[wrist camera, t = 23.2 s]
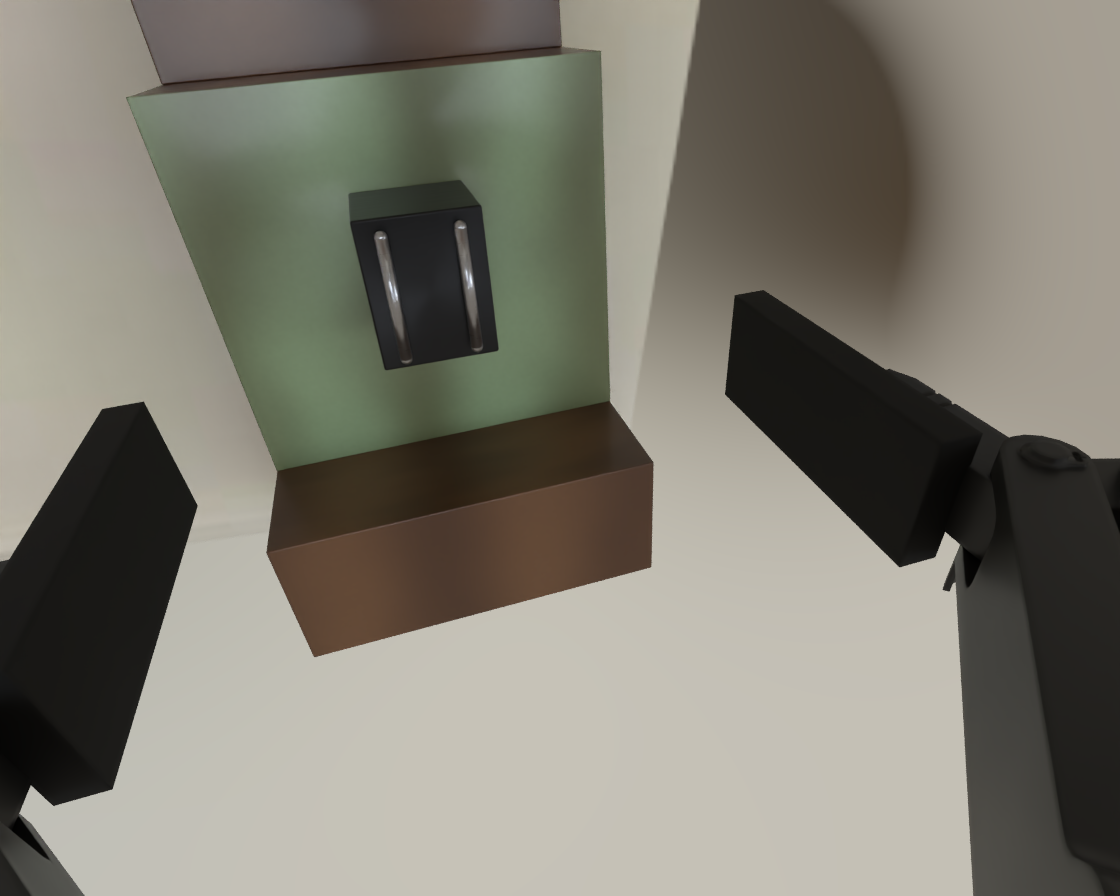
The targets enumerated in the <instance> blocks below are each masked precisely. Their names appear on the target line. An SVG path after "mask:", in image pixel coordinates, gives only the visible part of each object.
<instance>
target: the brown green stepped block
mask: <svg viewBox="0 0 1120 896" xmlns="http://www.w3.org/2000/svg"><path fill="white" fill-rule="evenodd" d="M131 3H132V5H133V8H134V11H135V13H136V16H137V19H138V21H139V24H140V27H141V30H142V32H143V35H144V38H145V40H146V43H147V46H148V48H149V51H150V54H151V56H152V59H153V62H154V65H155V67H156V70H157V73H158V75H159V78H160V81H161V83H162V84H163V85H162V86H159V87H156V88H153V89H150V90H147V91H145V92H142V93H139V94H136V95H133V96H130V97H126V98H127V101H128V103H129V106H130V108H131V111H132V113H133V116H134V118H135V121H136V123H137V126H138V128H139V131H140V133H141V135H142V138H143V140H144V143H145V145H146V148H147V150H148V153H149V155H150V158H151V160H152V163H153V165H154V168H155V170H156V173H157V175H158V178H159V180H160V183H161V185H162V187H163V190H164V192H165V195H166V197H167V200H168V202H169V205H170V207H171V210H172V212H173V215H174V217H175V220H176V222H177V225H178V227H179V230H180V232H181V234H182V237H183V239H184V242H185V244H186V247H187V249H188V252H189V254H190V257H191V259H192V262H193V264H194V267H195V269H196V272H197V274H198V277H199V279H200V282H201V284H202V286H203V289H204V291H205V294H206V296H207V299H208V301H209V304H210V306H211V309H212V311H213V314H214V316H215V319H216V321H217V324H218V326H219V329H220V331H221V334H222V336H223V338H224V341H225V343H226V346H227V348H228V351H229V353H230V356H231V358H232V361H233V363H234V366H235V368H236V371H237V373H238V376H239V378H240V381H241V383H242V386H243V388H244V390H245V393H246V395H247V398H248V400H249V403H250V405H251V408H252V410H253V413H254V415H255V418H256V420H257V423H258V425H259V428H260V430H261V433H262V435H263V438H264V440H265V442H266V445H267V447H268V450H269V452H270V455H271V457H272V460H273V462H274V465H275V467H276V470H277V471H278V472H277V480H276V487H275V494H274V501H273V509H272V516H271V523H270V531H269V538H268V545H267V552H266V553H267V555H268V558H269V560H270V562H271V564H272V566H273V568H274V571H275V573H276V575H277V577H278V579H279V581H280V584H281V586H282V588H283V590H284V592H285V594H286V597H287V599H288V601H289V603H290V605H291V608H292V610H293V612H294V614H295V616H296V619H297V621H298V623H299V625H300V627H301V630H302V632H303V634H304V636H305V638H306V640H307V642H308V645H309V647H310V649H311V651H312V654H313V656H314V657H317V656H321V655H324V654H328V653H332V652H336V651H340V650H343V649H347V648H351V647H354V646H358V645H362V644H366V643H369V642H373V641H377V640H381V639H385V638H388V637H392V636H396V635H400V634H403V633H407V632H411V631H414V630H418V629H422V628H425V627H429V626H433V625H437V624H441V623H444V622H448V621H452V620H455V619H459V618H463V617H467V616H471V615H474V614H478V613H482V612H486V611H489V610H493V609H497V608H500V607H504V606H508V605H512V604H515V603H519V602H523V601H527V600H531V599H534V598H538V597H542V596H545V595H549V594H553V593H557V592H560V591H564V590H568V589H571V588H575V587H579V586H583V585H586V584H590V583H594V582H598V581H602V580H605V579H609V578H613V577H617V576H620V575H624V574H628V573H632V572H635V571H639V570H643V569H647V568H650V567H651V555H652V506H653V461H652V460H651V458H650V457H649V456H648V454H647V453H646V451H645V450H644V449H643V447H642V446H641V444H640V443H639V442H638V440H637V439H636V438H635V436H634V435H633V433H632V432H631V430H630V429H629V428H628V426H627V425H626V424H625V422H624V421H623V419H622V418H621V417H620V415H619V414H618V412H617V411H616V410H615V408H614V407H613V405H612V404H611V403H610V382H609V343H608V305H607V266H606V228H605V190H604V151H603V113H602V74H601V51H594V50H585V49H575V48H565V47H561V27H560V9H559V0H131ZM456 180H461V181H462V182H463V183H464V184H465V185H466V187H467V188H468V189H469V191H470V192H471V193H472V194H473V196H474V197H475V198H476V199H477V201H478V202H479V203H480V205H481V206H482V213H483V221H484V229H485V237H486V246H487V254H488V262H489V271H490V279H491V287H492V295H493V304H494V312H495V320H496V329H497V337H498V345H499V350H498V351H495V352H490V353H484V354H478V355H472V356H467V357H461V358H455V359H450V360H444V361H438V362H433V363H427V364H421V365H415V366H410V367H404V368H398V369H393V370H385V369H384V365H383V361H382V357H381V353H380V349H379V344H378V340H377V336H376V332H375V328H374V323H373V319H372V315H371V311H370V307H369V303H368V298H367V294H366V290H365V286H364V282H363V277H362V273H361V269H360V265H359V261H358V256H357V252H356V248H355V244H354V240H353V235H352V231H351V227H350V219H349V200H348V194H350V193H356V192H364V191H372V190H381V189H389V188H397V187H406V186H414V185H423V184H431V183H439V182H448V181H456Z"/></svg>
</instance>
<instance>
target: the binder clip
mask: <svg viewBox="0 0 1120 896" xmlns="http://www.w3.org/2000/svg"><path fill="white" fill-rule="evenodd" d="M348 200H349V219H350V227H351V231H352V235H353V240H354V244H355V248H356V252H357V256H358V261H359V265H360V269H361V273H362V277H363V282H364V286H365V290H366V294H367V298H368V303H369V307H370V311H371V315H372V319H373V323H374V328H375V332H376V336H377V340H378V344H379V349H380V353H381V357H382V361H383V365H384V369H385V370H393V369H398V368H404V367H410V366H415V365H421V364H427V363H433V362H438V361H444V360H450V359H455V358H461V357H467V356H472V355H478V354H484V353H490V352H495V351H498V350H499V345H498V337H497V329H496V320H495V312H494V304H493V295H492V287H491V279H490V271H489V262H488V254H487V246H486V237H485V229H484V221H483V213H482V206H481V205H480V203H479V202H478V201H477V199H476V198H475V197H474V196H473V194H472V193H471V192H470V191H469V189H468V188H467V187H466V185H465V184H464V183H463V182H462V181H461V180H456V181H448V182H439V183H431V184H423V185H414V186H406V187H397V188H389V189H381V190H372V191H364V192H356V193H350V194H348Z"/></svg>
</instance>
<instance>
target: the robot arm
mask: <svg viewBox="0 0 1120 896" xmlns="http://www.w3.org/2000/svg"><path fill="white" fill-rule="evenodd" d="M725 395H726V396H727V397H728V398H729V399H730V400H731V401H732V402H733V403H734V404H735V405H736V406H737V407H738V408H739V409H740V410H742V412H743V413H745V415H746V416H747V417H748V418H749V419H750V420H751V421H752V422H753V423H755V425H756V426H757V427H758V428H759V429H761V430H762V431H763V432H764V433H765V434H766V435H767V436H768V437H769V438H770V439H771V440H772V441H773V442H774V443H775V444H776V445H777V446H778V447H779V448H780V449H781V450H782V451H783V452H784V453H785V454H786V455H787V456H788V457H789V458H790V459H791V460H792V461H793V462H794V463H795V464H796V465H797V466H798V467H799V468H800V469H801V470H802V471H803V472H804V473H805V474H806V475H807V476H808V477H809V478H810V479H811V480H812V481H813V482H814V483H815V484H816V485H817V486H818V487H819V488H820V489H821V490H822V491H823V492H824V493H825V494H826V495H827V496H828V497H829V498H830V499H831V500H832V501H833V502H834V503H835V504H836V505H837V506H838V507H839V508H840V509H841V510H842V511H843V512H844V513H845V514H846V515H847V516H848V517H849V518H850V519H851V520H852V521H853V522H854V523H856V525H857V526H859V528H860V529H861V530H862V531H864V533H865V534H866V535H867V536H868V537H869V538H870V539H871V540H872V541H873V542H874V543H875V544H876V545H877V546H878V547H879V548H880V549H881V550H882V551H884V553H886V554H887V555H888V556H889V557H890V558H891V559H892V560H893V561H894V562H895V563H896V564H897V565H898V566H899V567H902V566H906V565H909V564H913V563H917V562H920V561H924V560H927V559H931V558H934V557H935V556H936V554H937V551H938V549H939V546H940V544H941V541H942V538H943V536H944V533H945V532H946V533H947V534H949V535H950V536H951V537H952V538H953V539H955V540H956V541H957V542H958V543H959V544H960V547H959V549H958V551H957V554H956V556H955V559H954V561H953V564H952V566H951V568H950V571H949V573H948V576H947V578H946V581H945V583H944V587H943V590H945V591H950V589H951V586H952V584H953V583H955V582H956V594H957V611H958V612H957V613H958V631H959V648H960V665H961V683H962V702H963V719H964V736H965V755H966V773H967V791H968V807H969V826H970V844H971V862H972V879H973V896H1120V459H1091V458H1090V457H1089V456H1088V455H1087V454H1085V453H1084V452H1082V451H1081V450H1079V449H1078V448H1077V447H1075V446H1072V445H1070V444H1067V443H1065V442H1063V441H1060V440H1056V439H1052V438H1048V437H1044V436H1036V435H1020V436H1013V437H1010V438H1009V437H1007V436H1006V435H1004V434H1002V433H1001V432H999V431H998V430H996V429H995V428H993V427H991V426H990V425H988V424H987V423H985V422H983V421H982V420H980V419H979V418H977V417H976V416H974V415H972V414H971V413H969V412H968V411H966V410H965V409H963V408H961V407H960V406H958V405H957V404H953V405H952V403H951V401H950V400H949V399H947V398H945V397H944V396H942V395H941V394H936V393H935V390H933V389H931V388H930V387H928V386H927V385H925V384H924V383H922V382H920V381H919V380H917V379H916V378H913V377H910V376H907V375H905V374H902V373H899V372H896V371H893V370H891V369H888V370H885V369H884V368H882V367H880V366H879V365H877V364H876V363H874V362H873V361H871V360H870V359H868V358H867V357H865V356H864V355H862V354H860V353H859V352H857V351H856V350H855V349H853V348H851V347H850V346H848V345H847V344H845V343H844V342H842V341H841V340H839V339H838V338H836V337H835V336H833V335H831V334H830V333H828V332H827V331H825V330H824V329H822V328H821V327H819V326H818V325H816V324H814V323H813V322H812V321H810V320H809V319H807V318H805V317H804V316H802V315H801V314H799V313H797V312H796V311H795V310H793V309H792V308H790V307H788V306H787V305H785V304H784V303H782V302H781V301H779V300H778V299H776V298H775V297H773V296H772V295H770V294H769V293H767V292H765V291H764V290H762V291H756V292H751V293H745V294H739V295H735V299H734V309H733V319H732V329H731V340H730V349H729V361H728V370H727V380H726V391H725ZM197 506H198V505H197V504H196V502H195V500H194V498H193V496H192V494H191V492H190V490H189V488H188V486H187V484H186V482H185V480H184V478H183V477H182V475H181V473H180V471H179V469H178V467H177V465H176V463H175V461H174V459H173V457H172V455H171V453H170V451H169V450H168V448H167V446H166V444H165V442H164V440H163V438H162V436H161V434H160V432H159V430H158V428H157V426H156V424H155V422H154V421H153V419H152V417H151V415H150V413H149V411H148V409H147V407H146V405H145V403H144V402H139V403H133V404H128V405H122V406H117V407H111V408H106V409H102V410H101V412H100V414H99V415H98V417H97V418H96V420H95V422H94V423H93V425H92V426H91V428H90V430H89V431H88V433H87V435H86V436H85V438H84V439H83V441H82V443H81V444H80V446H79V448H78V449H77V451H76V452H75V454H74V456H73V457H72V459H71V460H70V462H69V464H68V465H67V467H66V469H65V470H64V472H63V473H62V475H61V477H60V478H59V480H58V482H57V483H56V485H55V486H54V488H53V490H52V491H51V493H50V494H49V496H48V498H47V499H46V501H45V503H44V504H43V506H42V507H41V509H40V511H39V512H38V514H37V516H36V517H35V519H34V520H33V522H32V524H31V525H30V527H29V529H28V530H27V532H26V533H25V535H24V537H23V538H22V540H21V541H20V543H19V545H18V546H17V548H16V550H15V551H14V553H13V554H12V556H11V558H10V559H9V560H5V561H1V562H0V896H84V894H83V893H82V892H81V890H80V889H79V888H78V886H77V885H76V883H75V882H74V881H73V879H72V878H71V877H70V875H69V874H68V873H67V871H66V870H65V869H64V867H63V866H62V865H61V863H60V862H59V861H58V859H57V858H56V857H55V855H54V854H53V852H52V851H51V850H50V848H49V847H48V846H47V844H46V843H45V842H44V840H43V839H42V838H41V836H40V835H39V834H38V832H37V831H36V829H35V828H34V827H33V826H32V824H31V823H30V822H28V821H27V820H26V819H25V818H24V817H23V816H22V815H20V814H19V812H20V810H21V808H22V805H23V803H24V800H25V798H26V795H27V793H28V790H29V788H30V786H33V787H34V788H35V789H36V790H37V791H38V792H39V793H40V794H41V795H42V796H43V797H44V798H45V799H46V800H48V801H49V802H50V803H51V804H52V805H53V806H55V805H59V804H62V803H66V802H69V801H73V800H76V799H80V798H83V797H87V796H90V795H94V794H98V793H100V792H105V791H108V790H112V789H113V786H114V782H115V779H116V776H117V772H118V769H119V766H120V762H121V759H122V756H123V752H124V749H125V746H126V743H127V739H128V736H129V733H130V729H131V726H132V722H133V719H134V715H135V713H136V709H137V706H138V703H139V699H140V696H141V692H142V689H143V686H144V682H145V679H146V676H147V673H148V669H149V666H150V663H151V659H152V656H153V653H154V649H155V646H156V642H157V639H158V636H159V633H160V629H161V625H162V623H163V619H164V616H165V613H166V609H167V606H168V603H169V599H170V596H171V593H172V589H173V586H174V582H175V579H176V576H177V573H178V569H179V566H180V563H181V559H182V556H183V553H184V549H185V546H186V543H187V539H188V536H189V533H190V529H191V526H192V523H193V519H194V516H195V513H196V509H197Z"/></svg>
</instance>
